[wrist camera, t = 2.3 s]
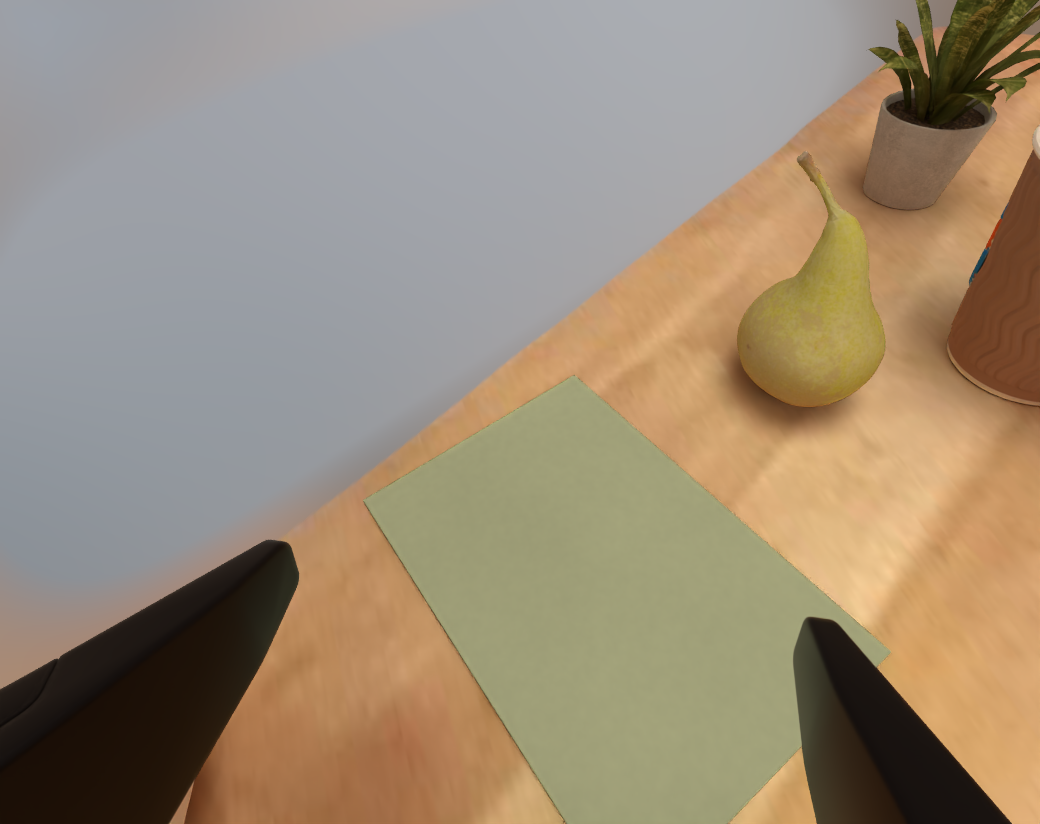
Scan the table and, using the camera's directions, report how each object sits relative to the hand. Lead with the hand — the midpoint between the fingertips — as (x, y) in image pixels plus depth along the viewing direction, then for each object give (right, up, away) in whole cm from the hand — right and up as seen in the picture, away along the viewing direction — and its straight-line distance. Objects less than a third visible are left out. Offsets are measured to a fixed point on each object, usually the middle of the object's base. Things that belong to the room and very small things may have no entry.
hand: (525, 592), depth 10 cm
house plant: (+30, +19, +34) cm, 49 cm away
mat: (+3, -4, +16) cm, 17 cm away
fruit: (+15, +5, +23) cm, 28 cm away
